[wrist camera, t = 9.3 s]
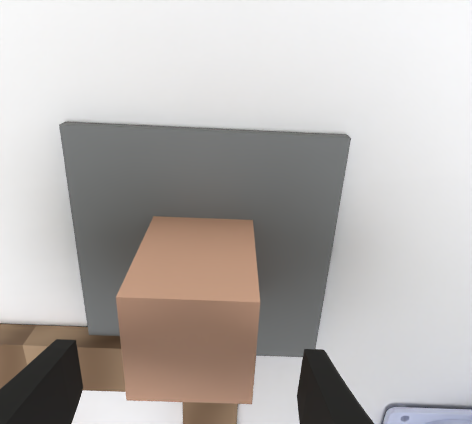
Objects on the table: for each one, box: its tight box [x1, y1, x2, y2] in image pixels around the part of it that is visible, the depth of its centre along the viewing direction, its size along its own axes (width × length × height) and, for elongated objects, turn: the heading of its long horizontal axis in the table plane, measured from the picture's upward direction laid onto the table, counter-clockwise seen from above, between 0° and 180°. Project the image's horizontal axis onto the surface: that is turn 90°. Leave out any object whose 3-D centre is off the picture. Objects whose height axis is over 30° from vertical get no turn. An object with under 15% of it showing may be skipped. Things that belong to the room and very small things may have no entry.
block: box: [116, 216, 260, 404], centre depth 16 cm, size 4×4×6 cm
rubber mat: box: [59, 122, 351, 357], centre depth 19 cm, size 12×12×1 cm
